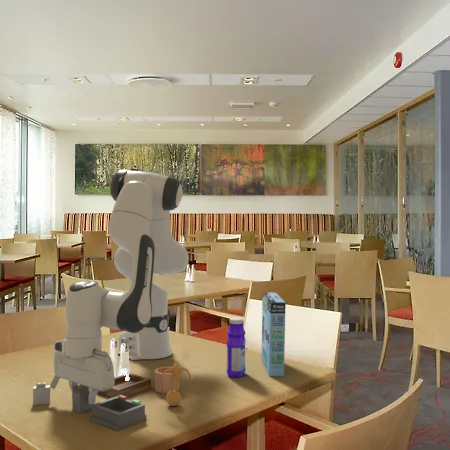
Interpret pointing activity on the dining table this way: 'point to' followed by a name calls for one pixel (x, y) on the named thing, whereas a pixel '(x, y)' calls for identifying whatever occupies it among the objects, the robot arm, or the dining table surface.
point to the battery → (80, 398)
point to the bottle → (236, 348)
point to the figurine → (173, 395)
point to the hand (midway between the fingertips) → (83, 400)
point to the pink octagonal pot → (164, 381)
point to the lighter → (43, 392)
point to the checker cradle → (118, 412)
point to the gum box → (273, 334)
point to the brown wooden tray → (128, 386)
